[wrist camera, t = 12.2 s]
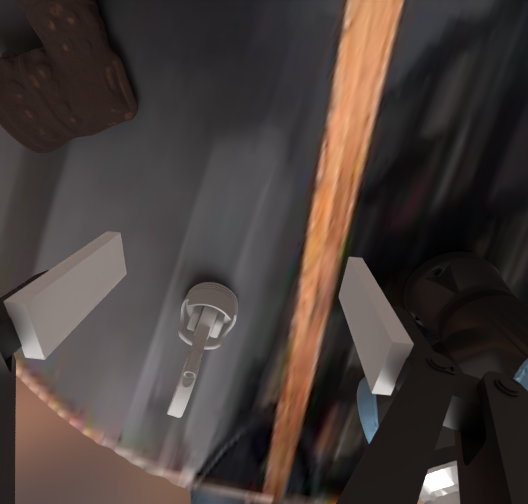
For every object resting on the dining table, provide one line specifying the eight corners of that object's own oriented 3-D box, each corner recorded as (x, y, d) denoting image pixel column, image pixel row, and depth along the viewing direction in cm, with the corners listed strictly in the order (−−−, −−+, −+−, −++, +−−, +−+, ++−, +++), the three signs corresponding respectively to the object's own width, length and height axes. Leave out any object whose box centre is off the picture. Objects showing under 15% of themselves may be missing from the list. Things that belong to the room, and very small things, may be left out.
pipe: (56, -59, 25) (-96, -2, 25) (140, 115, 32) (21, 159, 32) (97, -16, 34) (-17, 27, 34) (156, 114, 41) (62, 149, 41)
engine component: (245, 293, 51) (193, 274, 50) (229, 393, 33) (145, 368, 31) (227, 333, 56) (179, 318, 54) (203, 441, 37) (129, 422, 36)
